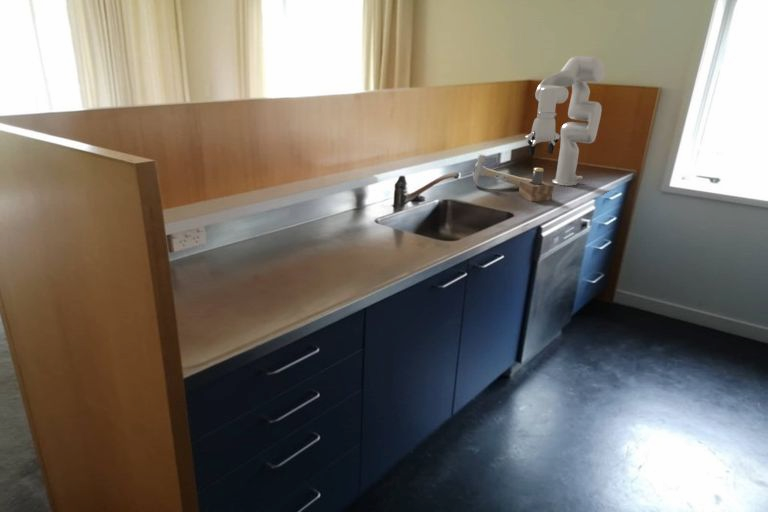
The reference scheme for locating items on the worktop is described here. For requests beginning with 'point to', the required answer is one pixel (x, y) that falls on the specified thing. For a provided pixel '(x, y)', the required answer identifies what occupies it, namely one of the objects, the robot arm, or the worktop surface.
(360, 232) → the worktop surface
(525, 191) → the socket block
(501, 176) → the hammer
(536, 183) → the dark grey capped cylinder
